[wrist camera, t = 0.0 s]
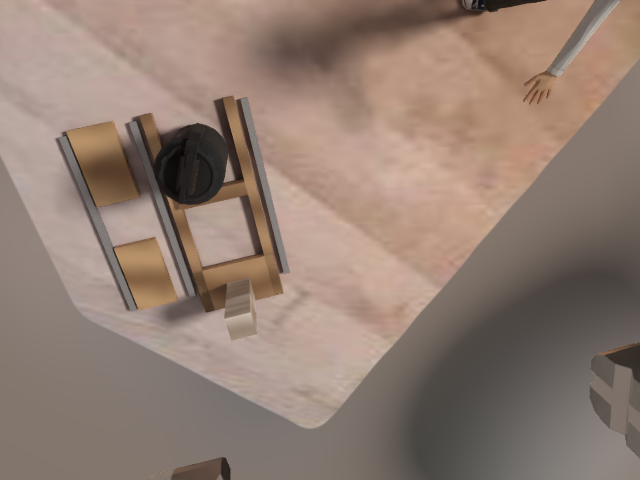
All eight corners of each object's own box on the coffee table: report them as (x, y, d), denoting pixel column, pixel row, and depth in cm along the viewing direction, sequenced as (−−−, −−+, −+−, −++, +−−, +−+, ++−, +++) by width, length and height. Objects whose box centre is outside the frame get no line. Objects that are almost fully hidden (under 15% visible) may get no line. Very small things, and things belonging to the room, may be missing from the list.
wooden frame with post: (141, 115, 51) (118, 126, 41) (233, 95, 51) (231, 102, 42) (206, 308, 61) (200, 352, 51) (282, 289, 61) (289, 329, 52)
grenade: (227, 179, 55) (222, 217, 41) (172, 176, 54) (148, 214, 40) (229, 119, 52) (224, 138, 39) (170, 114, 51) (144, 133, 37)
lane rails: (60, 137, 50) (58, 137, 50) (247, 97, 52) (247, 97, 51) (131, 309, 59) (130, 311, 59) (289, 270, 61) (289, 272, 60)
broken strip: (68, 130, 50) (66, 131, 49) (113, 121, 51) (111, 121, 50) (140, 307, 59) (138, 310, 58) (177, 298, 60) (176, 301, 59)
